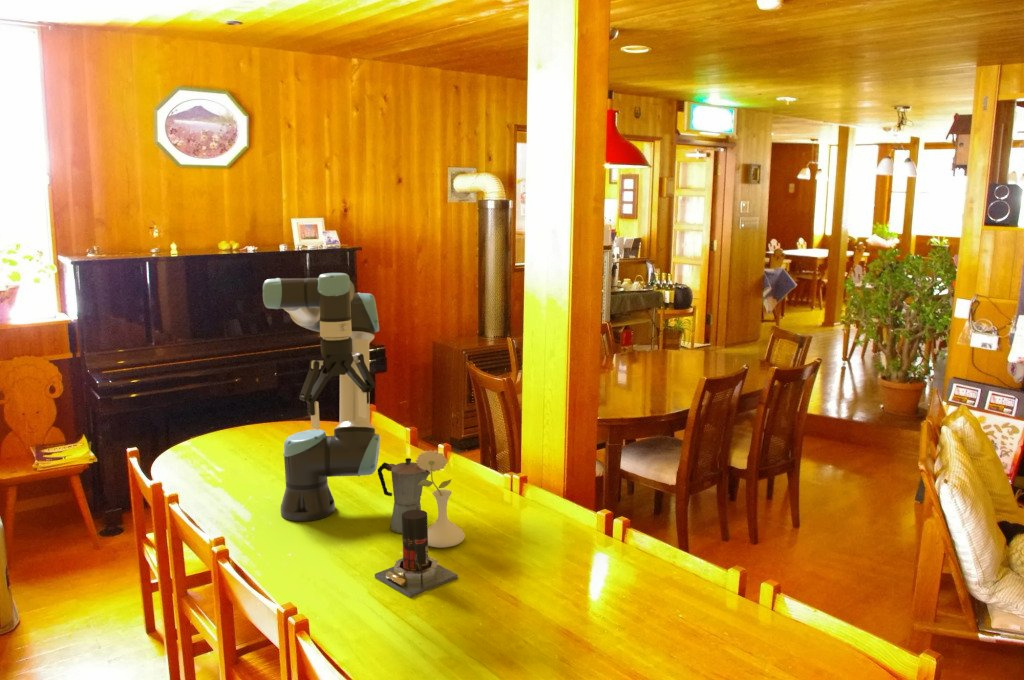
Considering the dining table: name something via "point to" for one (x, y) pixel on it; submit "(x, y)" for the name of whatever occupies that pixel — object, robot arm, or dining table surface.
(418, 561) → the deodorant
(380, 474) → the moka pot
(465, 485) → the dining table surface
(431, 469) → the flower in vase
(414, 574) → the socket mount
